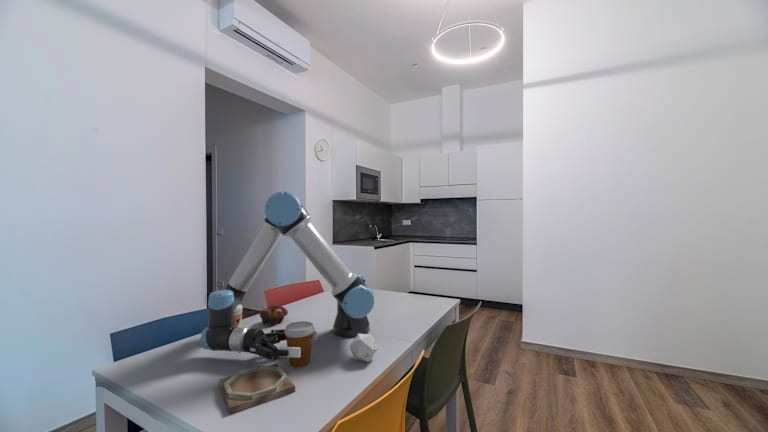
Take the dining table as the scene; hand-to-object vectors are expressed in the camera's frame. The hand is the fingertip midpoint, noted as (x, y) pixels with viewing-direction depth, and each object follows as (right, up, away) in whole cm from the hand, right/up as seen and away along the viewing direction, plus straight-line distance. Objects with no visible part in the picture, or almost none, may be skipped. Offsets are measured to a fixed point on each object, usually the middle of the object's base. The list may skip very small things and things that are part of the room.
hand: (308, 343), depth 98 cm
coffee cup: (-37, -7, +23) cm, 44 cm away
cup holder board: (-11, -6, -14) cm, 19 cm away
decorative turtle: (-25, -7, +39) cm, 47 cm away
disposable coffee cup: (-3, -7, 0) cm, 7 cm away
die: (+17, -7, +3) cm, 19 cm away
